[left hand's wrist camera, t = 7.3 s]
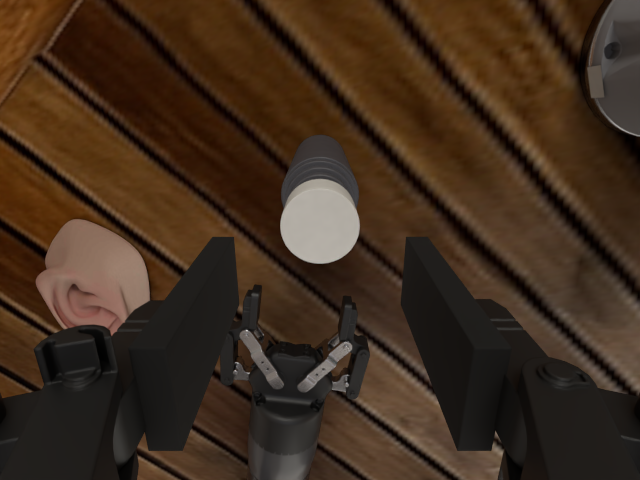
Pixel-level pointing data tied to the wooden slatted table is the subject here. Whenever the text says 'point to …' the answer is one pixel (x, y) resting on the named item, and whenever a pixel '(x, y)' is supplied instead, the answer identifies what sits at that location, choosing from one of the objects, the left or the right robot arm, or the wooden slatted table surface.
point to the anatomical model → (92, 277)
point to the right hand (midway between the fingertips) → (302, 294)
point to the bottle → (319, 166)
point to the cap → (319, 221)
